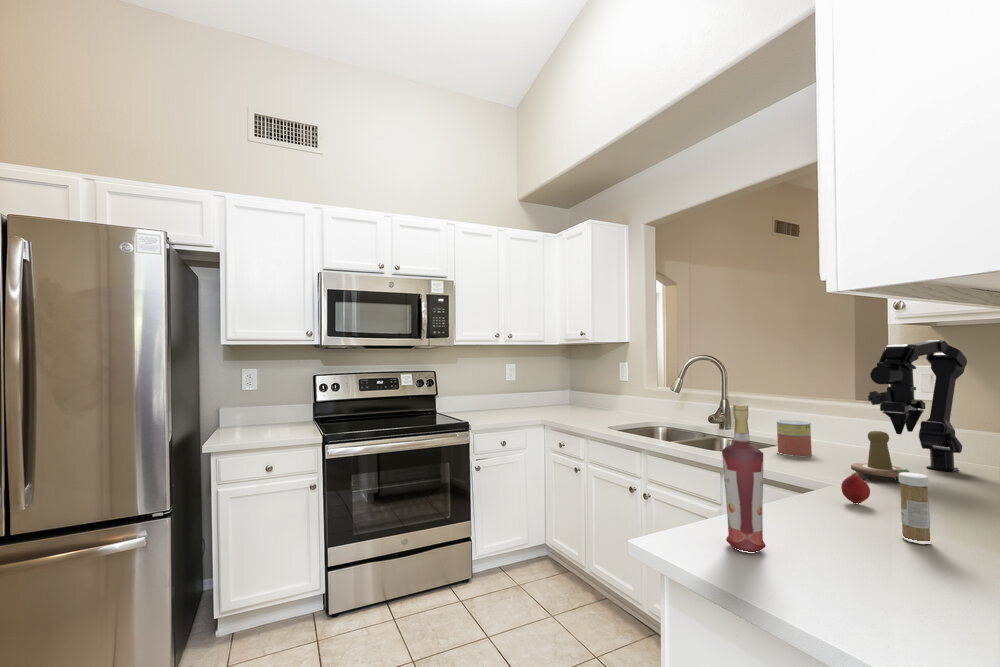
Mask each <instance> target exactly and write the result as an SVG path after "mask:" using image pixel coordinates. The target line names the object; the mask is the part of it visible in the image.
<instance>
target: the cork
mask: <svg viewBox="0 0 1000 667" xmlns="http://www.w3.org/2000/svg"><path fill="white" fill-rule="evenodd" d="M867 438H868V440H869V451H868V458H867V463H868V467H870V468H875V469H883V470H891V469H893V468H892V466H893V464H892V460H891V455H890V451H889V445H888V443H889V440H890V435H889V434H888V433H887V432H886V431H881V430H872V431H869V432H868V433H867Z"/></svg>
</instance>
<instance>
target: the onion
mask: <svg viewBox="0 0 1000 667" xmlns="http://www.w3.org/2000/svg"><path fill="white" fill-rule="evenodd" d="M858 475H859V474H858V473H856V471H854V472H852V474H851V475H849V476H847V477H846V478H845V479H844V480H843V481H842V482H841V488H840V489H841V493H842V494H843V496H844V497H845V498H846V499H847V500H848V501H849V502H851V503H852V502H853V504H854V503H858V505H860V504H862V503H863V502H865V501H866V500H867V499H869V497H870V495H871V489H870V486H869V484H868V483H867V482H866V481H865V480H863V479H861V478H860V477H858ZM859 503H860V504H859Z"/></svg>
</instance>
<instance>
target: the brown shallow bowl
mask: <svg viewBox="0 0 1000 667" xmlns="http://www.w3.org/2000/svg"><path fill="white" fill-rule="evenodd" d="M892 468H893V469H891V470H883V469H875V468H870V467H868V462H858V463H852V464H850V469H851V470H852V471H854V472H856V473H858V474H859V475H858V477H860V478H861V479H869V480H870V475H871V476H875V477H876V476H878V477H884V478H885V477H886V478H895V479H894V481H895V482H896V483H899V473H902V472H910V470H908V468H906V467H905V468H904V467H899V466H896V465H892Z"/></svg>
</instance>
